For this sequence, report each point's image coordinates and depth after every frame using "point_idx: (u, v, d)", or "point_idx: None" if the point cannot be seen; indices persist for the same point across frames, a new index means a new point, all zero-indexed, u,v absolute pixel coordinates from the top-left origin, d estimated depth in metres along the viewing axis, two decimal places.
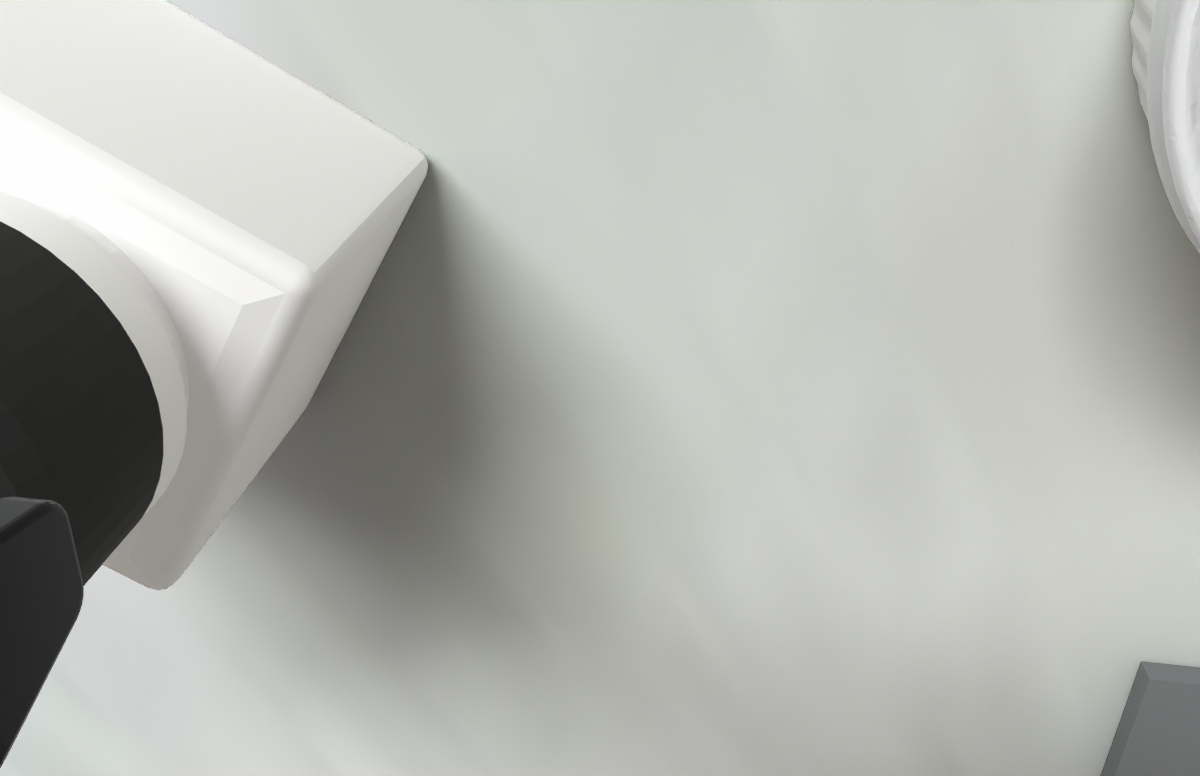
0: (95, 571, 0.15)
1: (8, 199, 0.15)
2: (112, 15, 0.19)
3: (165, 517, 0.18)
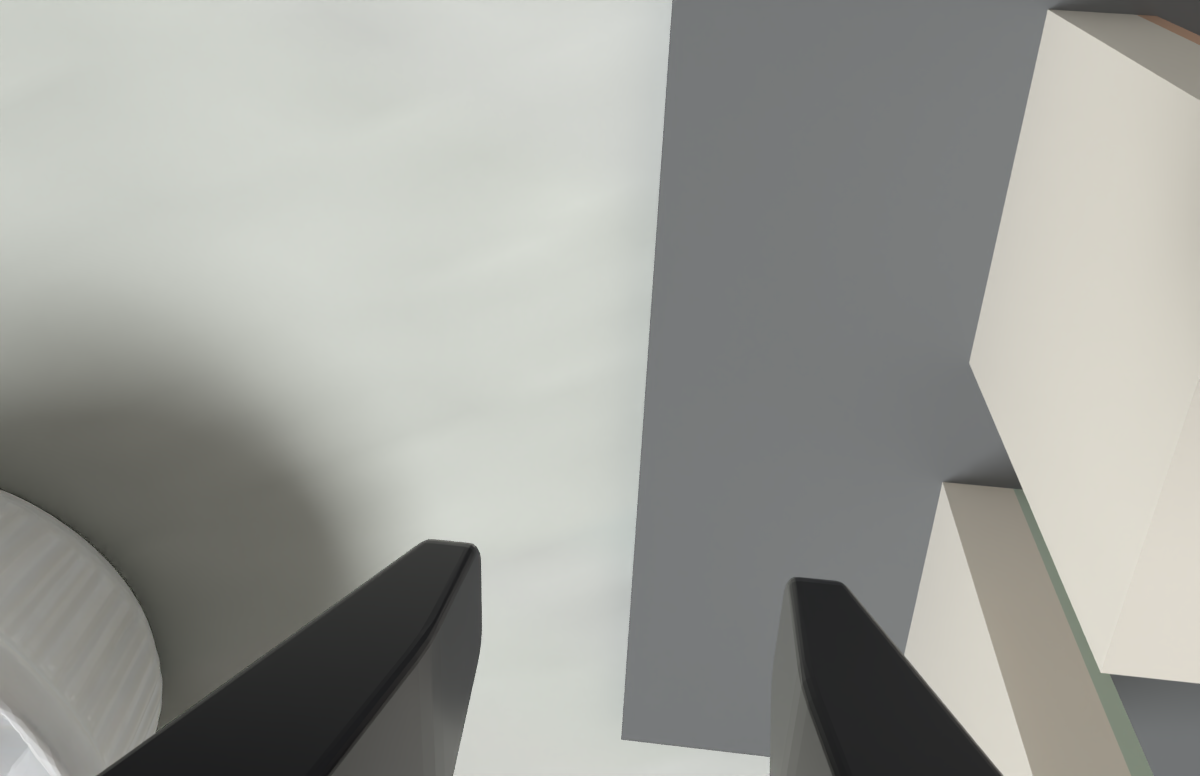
0: None
1: None
2: None
3: None
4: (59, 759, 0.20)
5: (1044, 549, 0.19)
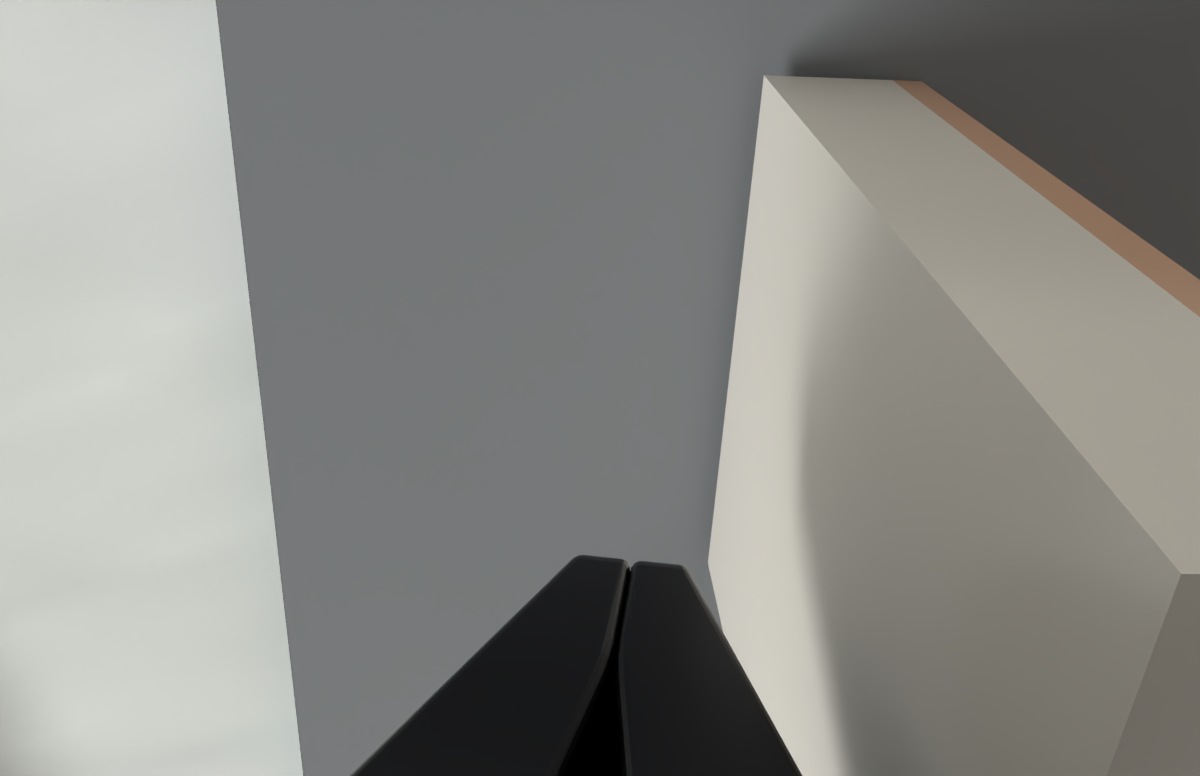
0: None
1: None
2: None
3: None
4: None
5: None
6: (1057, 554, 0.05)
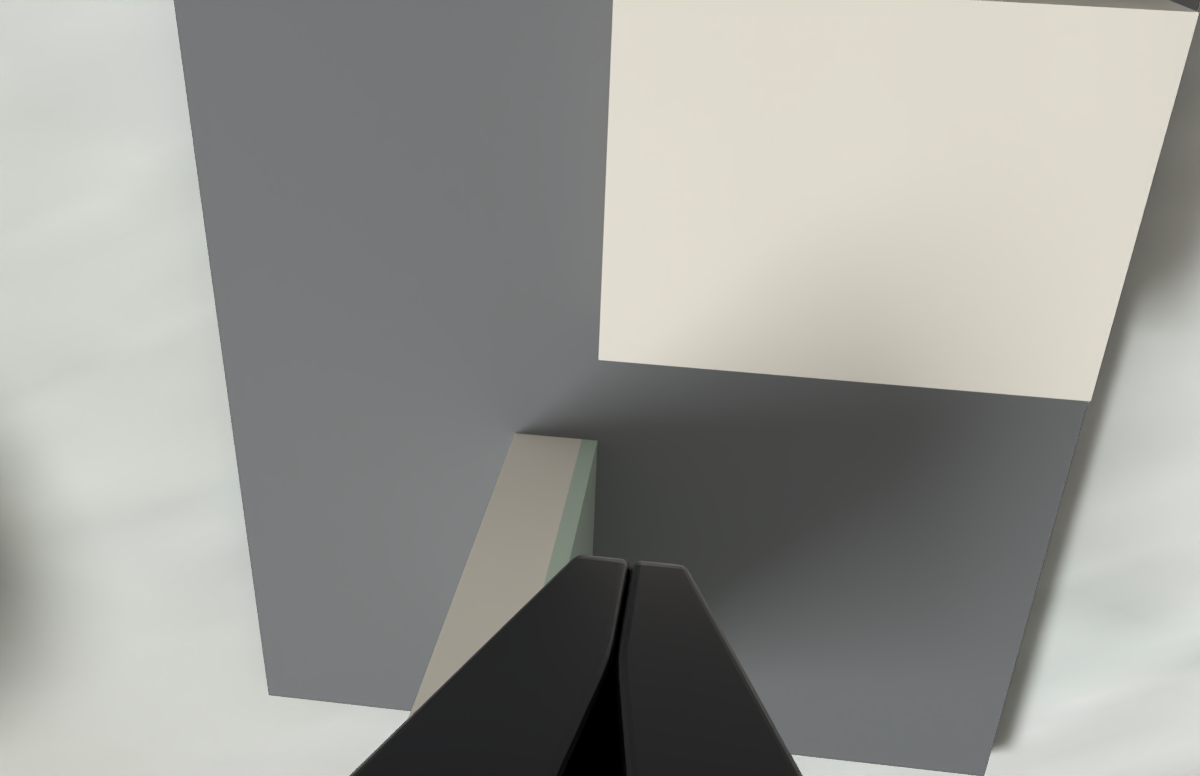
0: None
1: None
2: None
3: None
4: None
5: (573, 493, 0.19)
6: (1133, 45, 0.15)
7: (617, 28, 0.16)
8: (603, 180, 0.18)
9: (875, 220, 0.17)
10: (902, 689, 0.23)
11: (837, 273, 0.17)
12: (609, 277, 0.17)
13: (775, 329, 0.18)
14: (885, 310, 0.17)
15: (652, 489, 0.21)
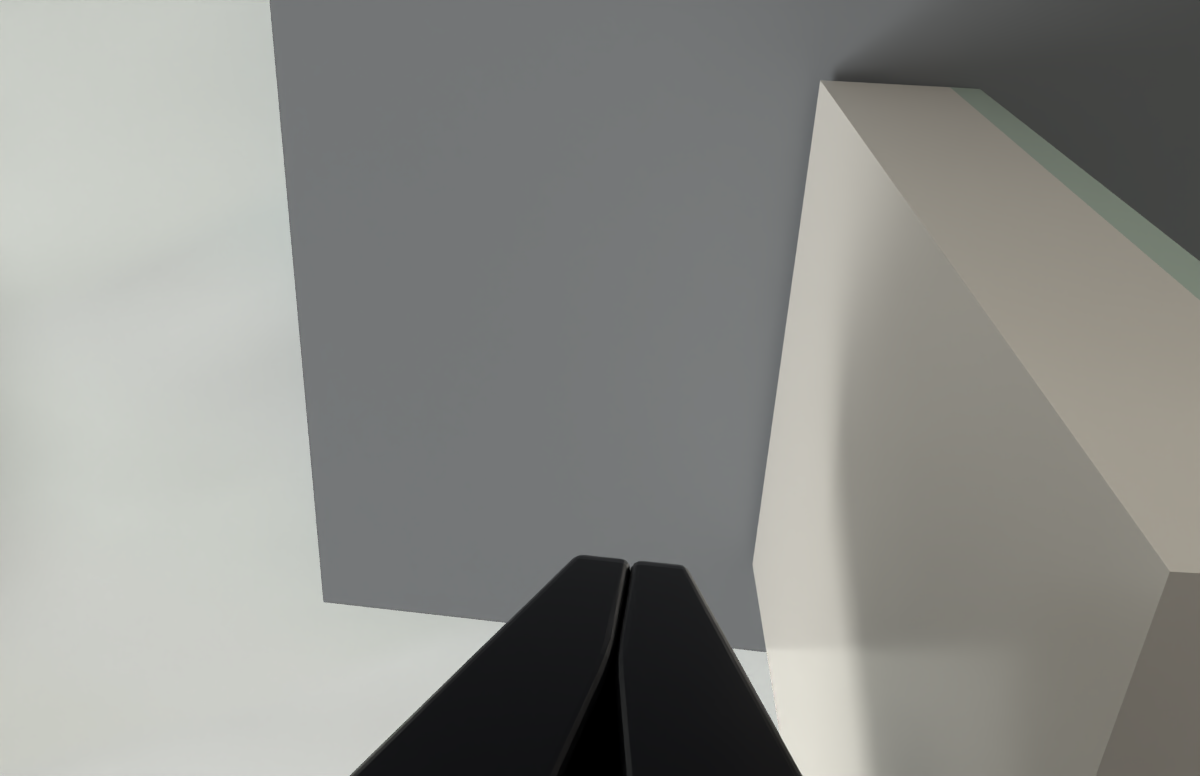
0: None
1: None
2: None
3: None
4: None
5: (1021, 137, 0.09)
6: None
7: None
8: None
9: None
10: None
11: None
12: None
13: None
14: None
15: None
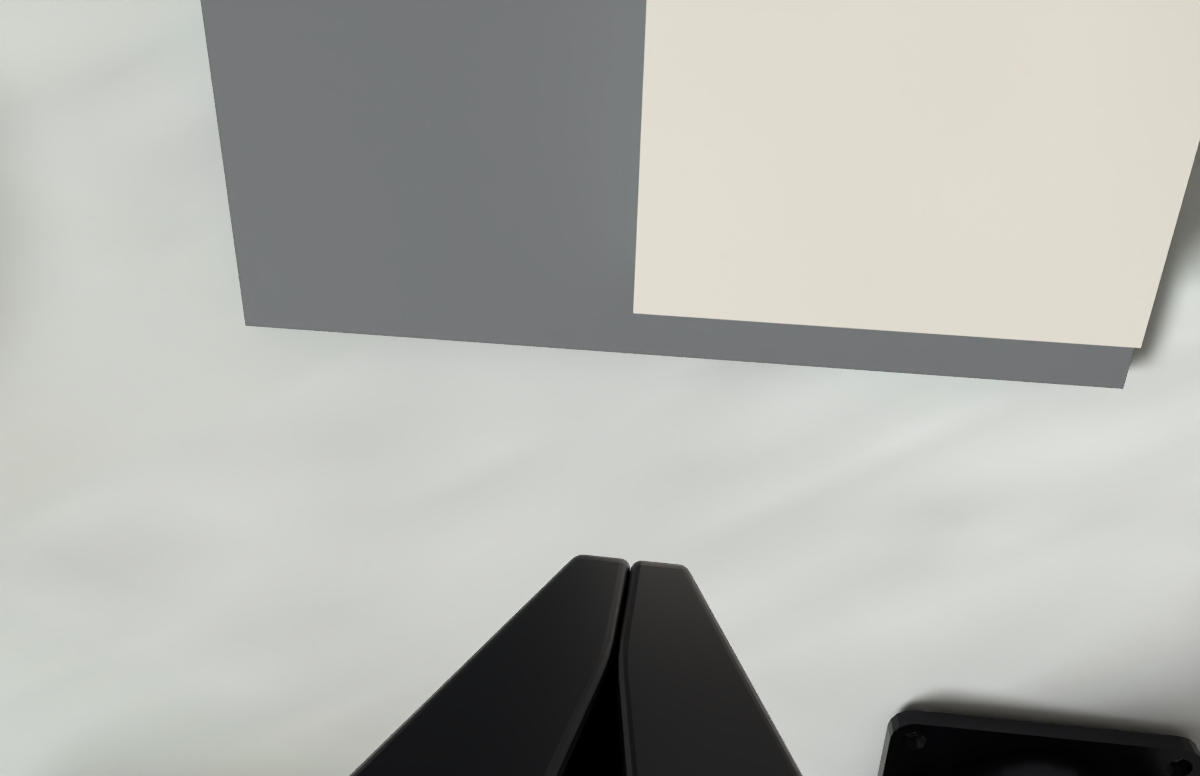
0: None
1: None
2: None
3: None
4: None
5: None
6: None
7: None
8: None
9: None
10: None
11: None
12: None
13: None
14: None
15: None
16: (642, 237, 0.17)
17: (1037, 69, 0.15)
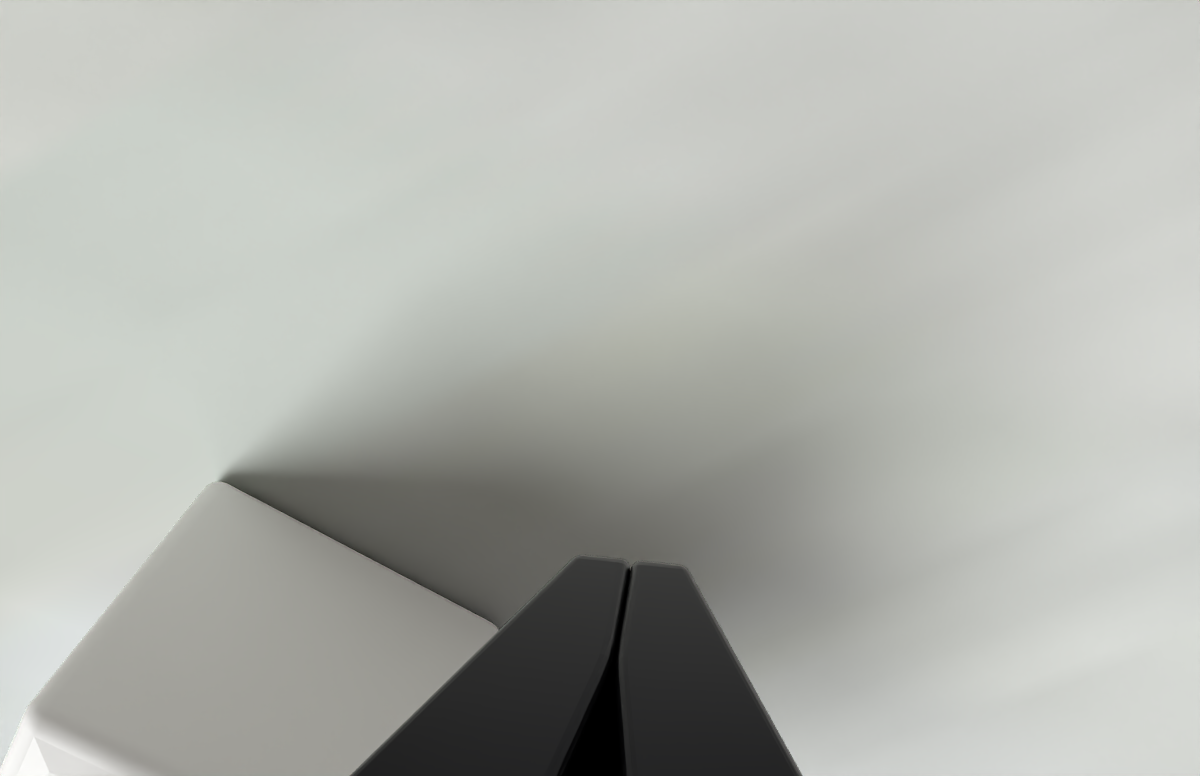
0: None
1: None
2: None
3: None
4: None
5: None
6: None
7: None
8: None
9: None
10: None
11: None
12: None
13: None
14: None
15: None
16: None
17: None
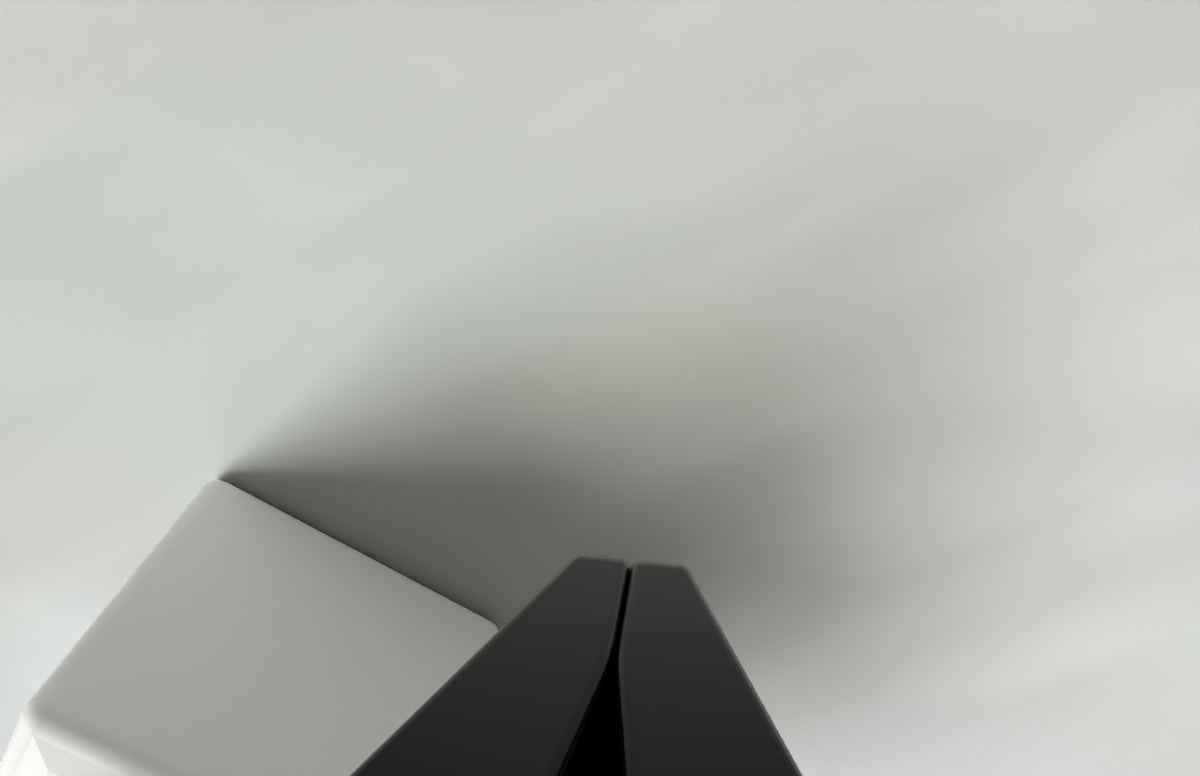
0: None
1: None
2: None
3: None
4: None
5: None
6: None
7: None
8: None
9: None
10: None
11: None
12: None
13: None
14: None
15: None
16: None
17: None
